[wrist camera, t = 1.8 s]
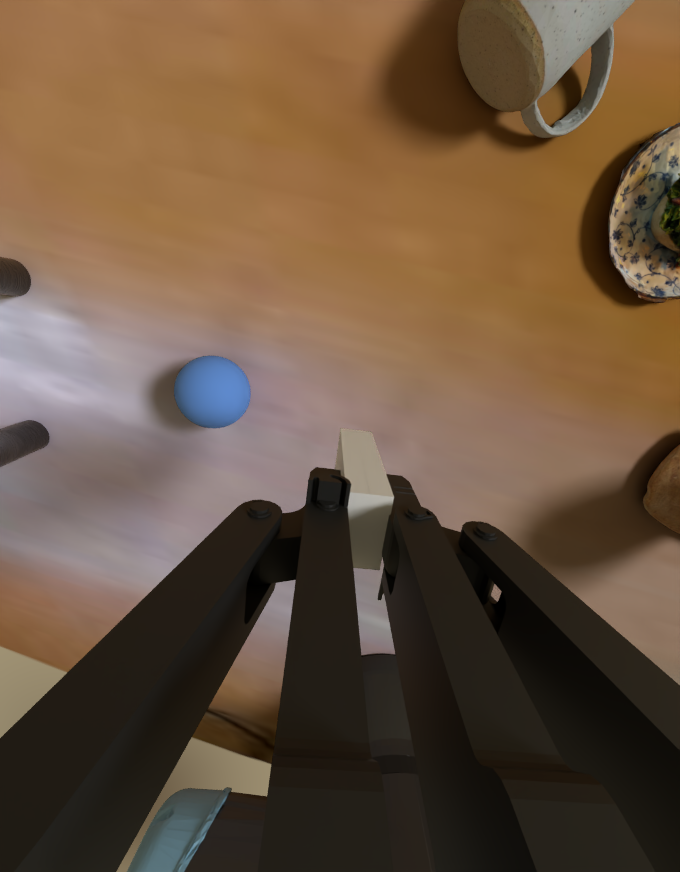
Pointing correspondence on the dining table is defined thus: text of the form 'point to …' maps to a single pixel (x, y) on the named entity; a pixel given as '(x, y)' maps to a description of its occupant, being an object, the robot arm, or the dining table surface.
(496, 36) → the ceramic mug
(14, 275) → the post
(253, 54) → the dining table surface
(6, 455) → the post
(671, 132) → the plate of salad
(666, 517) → the brown boot
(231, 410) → the ball
